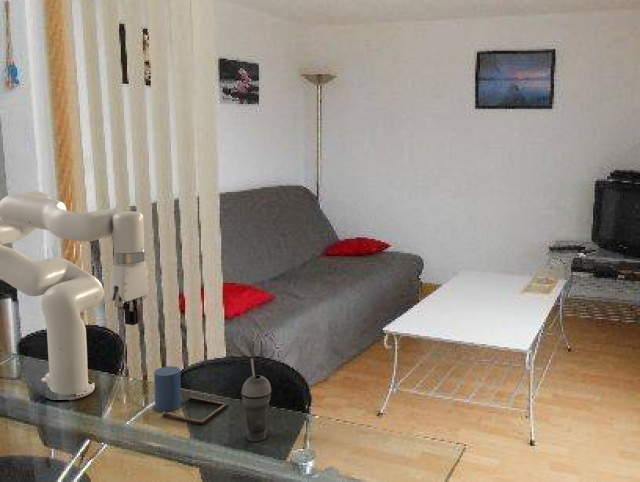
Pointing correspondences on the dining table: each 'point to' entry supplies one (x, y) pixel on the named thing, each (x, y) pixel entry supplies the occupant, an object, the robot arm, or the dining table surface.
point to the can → (167, 388)
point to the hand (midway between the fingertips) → (131, 323)
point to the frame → (194, 421)
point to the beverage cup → (256, 405)
